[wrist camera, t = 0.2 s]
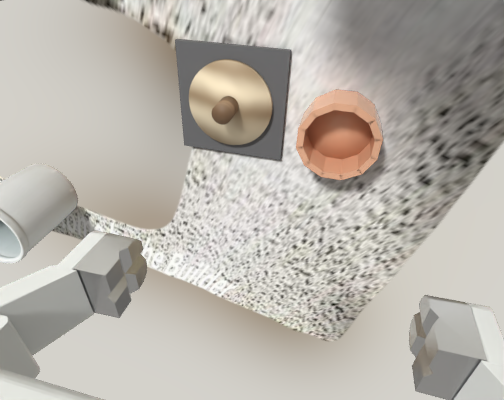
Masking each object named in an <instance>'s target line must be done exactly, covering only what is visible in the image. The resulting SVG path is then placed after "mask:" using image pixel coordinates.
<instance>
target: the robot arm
mask: <svg viewBox="0 0 504 400" xmlns="http://www.w3.org/2000/svg"><path fill="white" fill-rule="evenodd" d="M142 250H143V246H142V242H141V241H140V240H138V239H133V238H129V237H124V236H120V235H115V234H111V233H105V232H101V231H96V230H95V231H92V232H90V233H89V234H88V235H87V236H86V237H85V238H84V239H83V240H82V241H81V242H80V243H79V244H78V245H77V246H76V247H75V248H74V249H73V250H72V251H71V252H70V253H69V254H68V255H67V256H66V257H65V258H64V259H63V260H62V261H61V262H60V263H59V264H58V265H57V266H55V265H51V266H49V267H47V268H44V269H42V270H40V271H38V272H35V273H33V274H30V275H28V276H26V277H24V278H21V279H19V280H17V281H14V282H12V283H10V284H8V285H5V286H3V287H0V400H104V399H100V398H97V397H94V396H90V395H87V394H83V393H80V392H77V391H74V390H70V389H67V388H64V387H60V386H57V385H53V384H50V383H47V382H44V381H41V380H37V379H35V378H36V376H37V375H38V374H39V372H40V368H39V366H38V364H37V362H36V361H35V359H34V358H33V356H32V355H34V354H35V353H37V352H38V351H40V350H41V349H43V348H44V347H46V346H47V345H49V344H50V343H52V342H53V341H55V340H56V339H58V338H59V337H61V336H62V335H63V334H65V333H67V332H68V331H69V330H71V329H73V328H74V327H75V326H77V325H78V324H80V323H81V322H83V321H84V320H86V319H87V318H89V317H90V316H92V315H93V314H94V313H98V314H103V315H108V316H113V317H117V318H120V316H121V315H122V313H123V312H124V310H125V309H126V308H127V306H128V305H129V303H130V302H131V293H132V292H134V291H136V290H138V289H139V288H140V287H141V285H142V283H143V282H144V279H145V276H146V273H147V263H146V259H145V258H144V257H143V256H142V255H141V254H140V253H141V252H142ZM419 307H420V312H419V313H417V314H415V315H414V317H413V319H412V322H411V326H410V332H409V343H410V350H411V351H412V353H413V354H414V355H415V357H416V359H415V361H414V364H413V365H412V369H413V376H414V384H415V390H416V391H417V392H421V393H425V394H428V395H432V396H435V397H439V398H443V399H446V400H504V338H503V336H502V333H501V330H500V328H499V325H498V322H497V320H496V318H495V314H494V312H493V310H492V309H491V308H490V307H487V306H481V305H476V304H471V303H465V302H460V301H455V300H449V299H444V298H439V297H433V296H428V295H424V296H423V298H422V299H421V301H420V303H419ZM93 312H94V313H93Z"/></svg>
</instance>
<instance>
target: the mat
mask: <svg viewBox="0 0 504 400" xmlns="http://www.w3.org/2000/svg"><path fill="white" fill-rule="evenodd" d="M175 44H176V56H177V67H178V77H179V90H180V101H181V113H182V124H183V135H184V145H187V146H193V147H199V148H206V149H212V150H219V151H225V152H232V153H238V154H245V155H251V156H258V157H264V158H271V159H277V160H280V159H281V153H282V142H283V132H284V121H285V110H286V99H287V89H288V78H289V67H290V57H291V50H289V49H278V48H268V47H257V46H246V45H236V44H225V43H215V42H204V41H193V40H183V39H176V40H175ZM222 59H232V60H237V61H240V62H243V63H245V64H247V65H249V66H251V67H252V68H253V69H255V70H256V71H257V72H258V73H259V74H260V75H261V76H262V77H263V79H264V80H265V82H266V84H267V85H268V87H269V90H270V93H271V96H272V103H273V109H272V115H271V119H270V121H269V124H268V126H267V127H266V129H265V131H264V132H263V133H262V134H261V135H260V136H259V137H258V138H257V139H255V140H253V141H251V142H249V143H246V144H242V145H228V144H224V143H221V142H218V141H216V140H214V139H213V138H211V137H210V136H208V135H207V134H206V133H205V132H204V131H203V130H202V129H201V128H200V127H199V126H198V124H197V123H196V121H195V119H194V117H193V115H192V113H191V109H190V105H189V90H190V86H191V83H192V81H193V79H194V77H195V75H196V74H197V73H198V72H199V71H200V70H201V69H202V68H203V67H205V66H206V65H208V64H209V63H211V62H214V61H217V60H222Z"/></svg>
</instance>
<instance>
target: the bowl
mask: <svg viewBox="0 0 504 400" xmlns="http://www.w3.org/2000/svg"><path fill="white" fill-rule="evenodd" d="M382 141H383V137H382V128H381V122H380V119H379V116H378V113H377V110H376V107H375V105H374V104H373V103H372V102H371V101H369V100H368V99H367V98H365V97H364V96H363V95H361V94H360V93H359V92H355V91H346V90H337V89H336V90H334V91H331V92H329V93H326V94H324V95H321V96H319V97H317V98H316V99H315V100H314V101H313V102H312V104H311V105H310V106H309V107H308V109H307V110H306V111H305V113H304V114H303V117H302V120H301V123H300V125H299V128H298V136H297V144H296V149H297V151H298V153H299V155H300V157H301V159H302V161H303V164H304V165H305V166H306V167H307V168H309V169H310V170H312V171H313V172H314V173H316V174H317V175H319V176H320V177H324V178H331V179H337V180H344V179H347V178H351V177H354V176H358V175H361V174H363V173H364V172H365V171H366V170H367V169H368V168H369V167H370V166H371V165H372V164H373V163H374V162H375V161H376V160H377V159H378V155H379V152H380V148H381V144H382Z"/></svg>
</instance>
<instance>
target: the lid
mask: <svg viewBox="0 0 504 400" xmlns="http://www.w3.org/2000/svg"><path fill="white" fill-rule="evenodd" d="M189 105H190V109H191V113H192V115H193V117H194V119H195V121H196V123H197V124H198V126H199V127H200V128H201V129H202V130H203V131H204V132H205V133H206V134H207V135H208V136H210V137H211V138H213V139H214V140H216V141H218V142H221V143H224V144H228V145H242V144H246V143H249V142H251V141H253V140H255V139H257V138H258V137H259V136H260V135H261V134H262V133H263V132H264V131H265V129H266V127H267V126H268V124H269V121H270V119H271V115H272V109H273V103H272V96H271V93H270V90H269V87H268V85H267V84H266V82H265V80H264V79H263V77H262V76H261V75H260V74H259V73H258V72H257V71H256V70H255V69H253V68H252V67H251V66H249V65H247V64H245V63H243V62H240V61H237V60H232V59H222V60H217V61H214V62H211V63H209V64H208V65H206V66H205V67H203V68H202V69H201V70H200V71H199V72H198V73H197V74H196V75H195V77H194V79H193V81H192V83H191V86H190V90H189Z"/></svg>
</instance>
